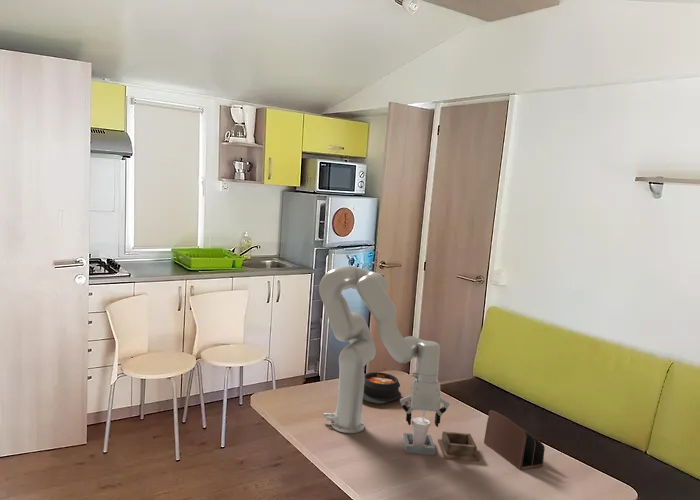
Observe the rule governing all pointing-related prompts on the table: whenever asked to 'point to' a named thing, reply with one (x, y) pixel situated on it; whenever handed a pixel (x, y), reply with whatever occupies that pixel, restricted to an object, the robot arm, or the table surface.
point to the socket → (458, 446)
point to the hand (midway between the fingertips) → (422, 424)
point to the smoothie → (420, 430)
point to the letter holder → (513, 442)
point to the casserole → (380, 388)
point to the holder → (418, 449)
